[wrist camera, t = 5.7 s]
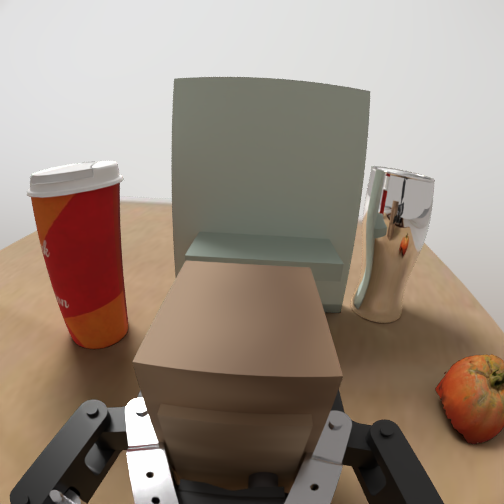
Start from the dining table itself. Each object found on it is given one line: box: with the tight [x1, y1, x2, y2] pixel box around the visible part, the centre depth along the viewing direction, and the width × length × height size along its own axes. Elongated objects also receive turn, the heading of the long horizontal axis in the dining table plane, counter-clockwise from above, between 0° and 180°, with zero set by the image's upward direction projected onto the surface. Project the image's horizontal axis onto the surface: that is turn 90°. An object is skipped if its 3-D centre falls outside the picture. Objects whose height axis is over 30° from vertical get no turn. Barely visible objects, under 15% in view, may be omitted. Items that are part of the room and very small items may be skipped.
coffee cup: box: [27, 161, 128, 349], centre depth 22 cm, size 8×8×15 cm
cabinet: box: [133, 261, 343, 493], centre depth 11 cm, size 5×7×12 cm
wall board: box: [172, 77, 370, 313], centre depth 26 cm, size 17×10×22 cm, turn 88°
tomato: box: [435, 354, 504, 444], centre depth 16 cm, size 8×7×7 cm
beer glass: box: [350, 166, 435, 323], centre depth 28 cm, size 7×7×15 cm
